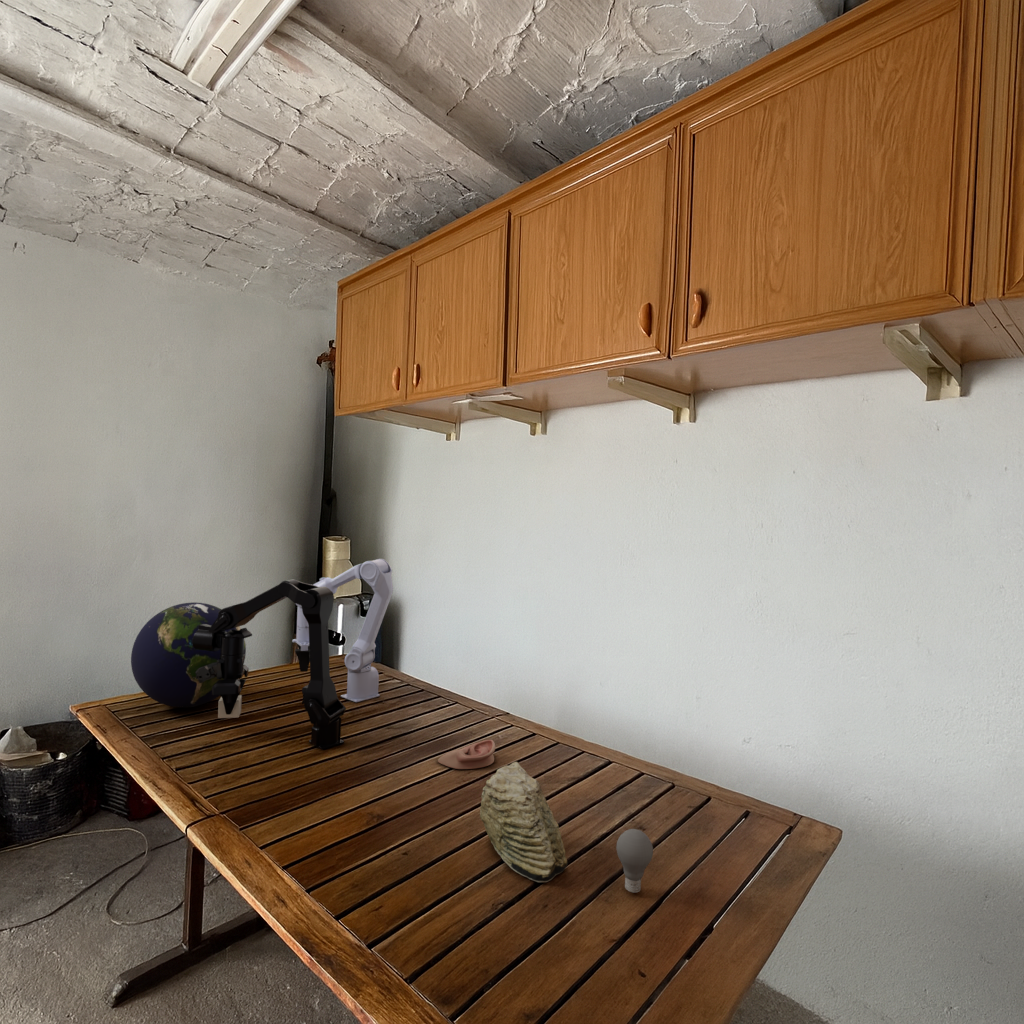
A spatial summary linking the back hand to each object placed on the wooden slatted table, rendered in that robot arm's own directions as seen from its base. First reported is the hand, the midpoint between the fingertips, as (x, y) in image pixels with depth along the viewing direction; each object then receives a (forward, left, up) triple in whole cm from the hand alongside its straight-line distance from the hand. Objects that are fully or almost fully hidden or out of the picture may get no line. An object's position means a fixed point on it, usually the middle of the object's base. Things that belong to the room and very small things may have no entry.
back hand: (304, 668), depth 204 cm
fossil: (+27, +109, -8) cm, 113 cm away
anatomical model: (+3, +74, -8) cm, 75 cm away
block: (+33, +16, -4) cm, 36 cm away
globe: (+32, -10, -8) cm, 34 cm away
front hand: (+33, +16, -3) cm, 36 cm away
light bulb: (+22, +130, -8) cm, 132 cm away
